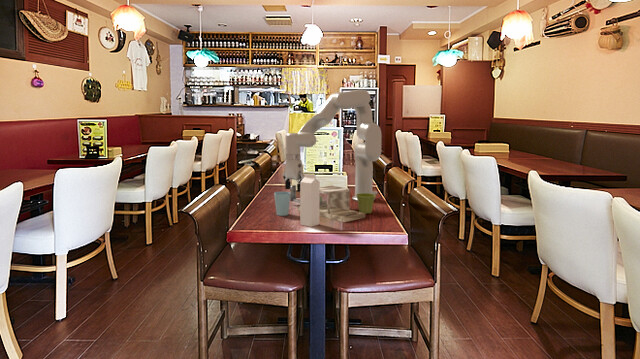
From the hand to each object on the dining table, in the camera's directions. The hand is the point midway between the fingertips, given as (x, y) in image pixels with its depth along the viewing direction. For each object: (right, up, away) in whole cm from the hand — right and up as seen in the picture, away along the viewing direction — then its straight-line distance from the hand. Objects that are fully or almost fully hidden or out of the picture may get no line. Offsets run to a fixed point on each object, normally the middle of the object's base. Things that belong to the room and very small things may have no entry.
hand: (293, 190), depth 241 cm
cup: (-4, -11, -21) cm, 24 cm away
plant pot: (+36, -11, -16) cm, 40 cm away
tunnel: (+18, -11, -19) cm, 29 cm away
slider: (+6, -7, -6) cm, 11 cm away
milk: (+9, -14, -40) cm, 43 cm away
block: (+11, -8, -12) cm, 18 cm away
